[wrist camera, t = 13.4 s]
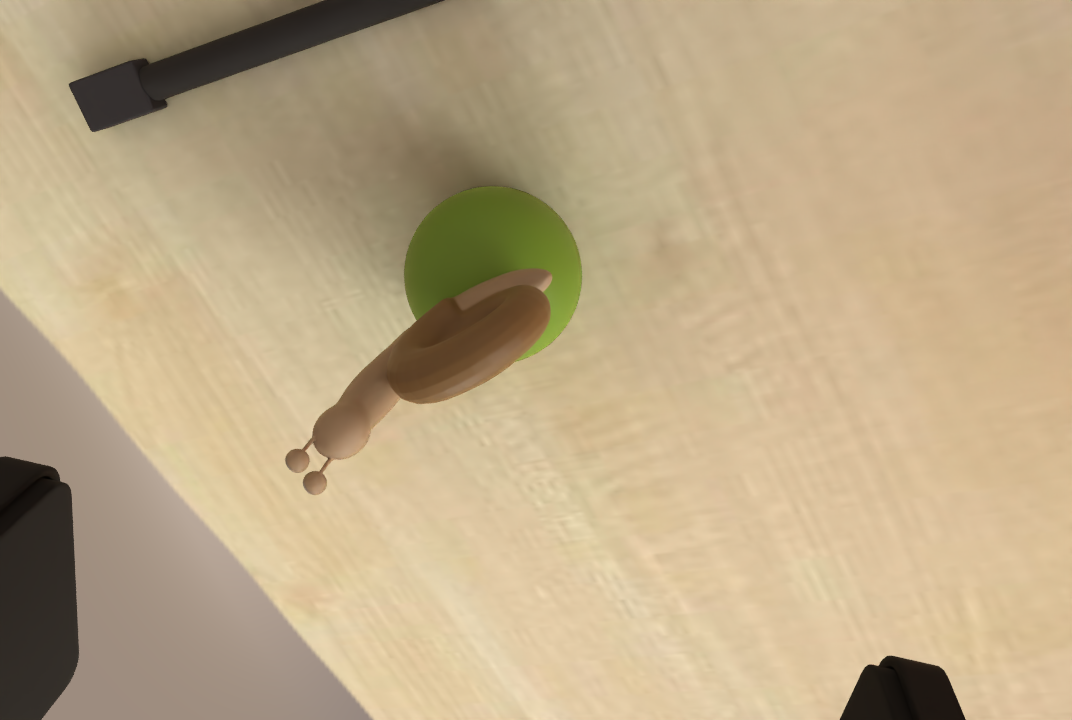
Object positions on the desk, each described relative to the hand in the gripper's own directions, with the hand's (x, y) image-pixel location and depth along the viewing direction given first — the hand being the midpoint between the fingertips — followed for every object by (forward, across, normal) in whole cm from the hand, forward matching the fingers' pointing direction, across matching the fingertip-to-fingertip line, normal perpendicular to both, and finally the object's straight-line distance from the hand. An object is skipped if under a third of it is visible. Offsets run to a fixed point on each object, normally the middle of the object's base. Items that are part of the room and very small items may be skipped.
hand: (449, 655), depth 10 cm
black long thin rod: (+21, +7, -5) cm, 22 cm away
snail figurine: (+21, +2, +2) cm, 21 cm away
